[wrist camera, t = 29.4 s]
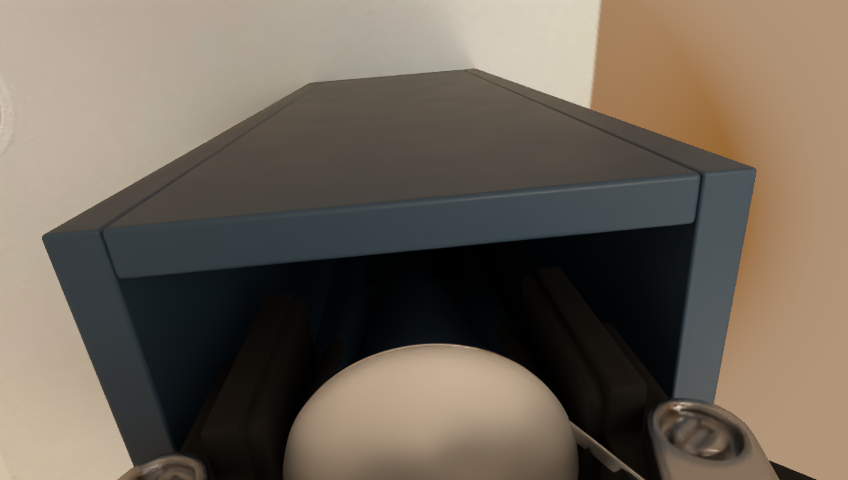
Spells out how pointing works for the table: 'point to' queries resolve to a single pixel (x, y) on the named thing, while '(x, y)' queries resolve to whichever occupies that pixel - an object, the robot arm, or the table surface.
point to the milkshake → (431, 384)
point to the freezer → (399, 231)
